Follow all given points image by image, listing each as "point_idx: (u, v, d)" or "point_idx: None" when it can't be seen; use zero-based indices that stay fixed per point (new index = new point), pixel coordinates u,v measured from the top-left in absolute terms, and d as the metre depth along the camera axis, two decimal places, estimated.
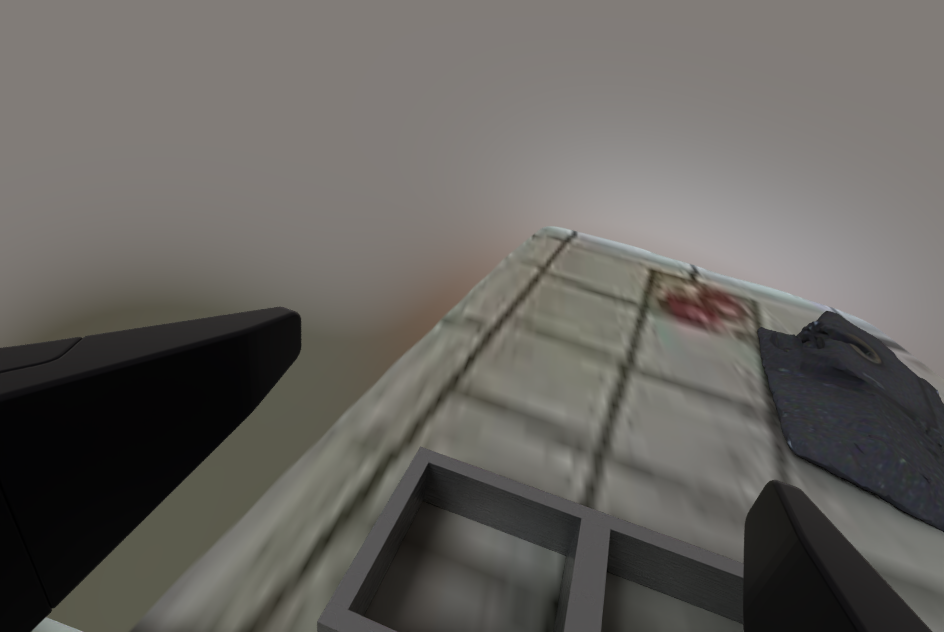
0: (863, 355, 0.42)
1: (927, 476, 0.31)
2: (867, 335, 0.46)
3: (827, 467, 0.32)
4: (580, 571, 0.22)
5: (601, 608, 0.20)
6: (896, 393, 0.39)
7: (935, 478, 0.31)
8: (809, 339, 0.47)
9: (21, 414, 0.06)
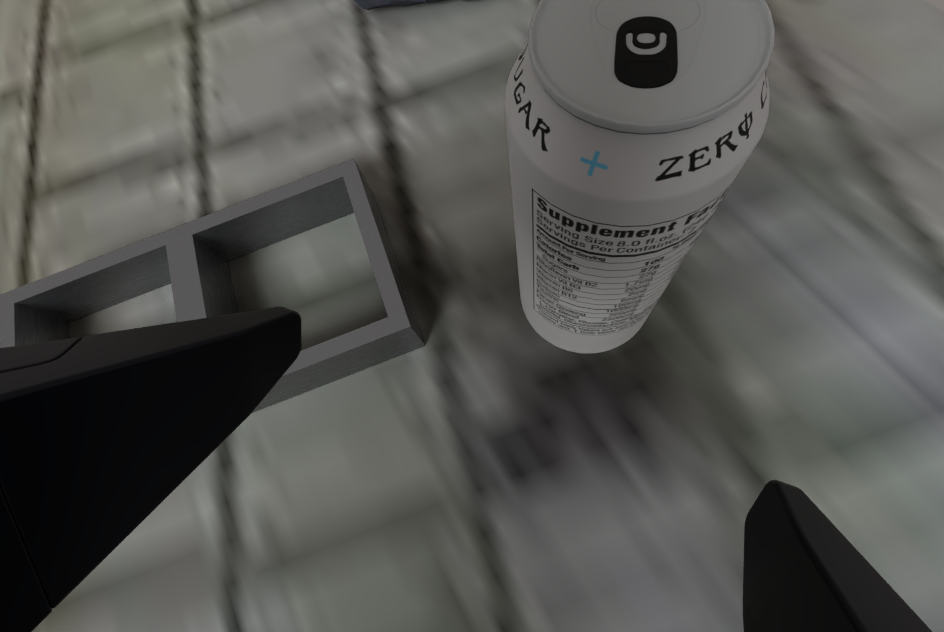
0: None
1: None
2: None
3: (392, 4, 0.31)
4: (178, 290, 0.24)
5: (203, 305, 0.23)
6: None
7: None
8: None
9: (23, 414, 0.06)
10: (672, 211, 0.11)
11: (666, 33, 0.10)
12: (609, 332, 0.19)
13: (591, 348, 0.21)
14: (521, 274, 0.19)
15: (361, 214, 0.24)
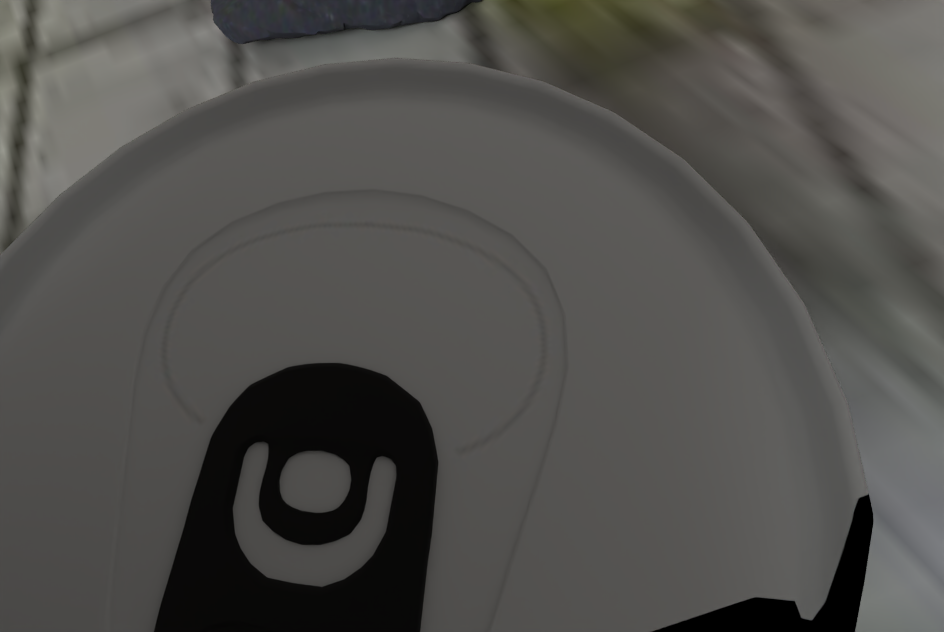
0: None
1: None
2: None
3: (273, 37, 0.23)
4: None
5: None
6: None
7: None
8: None
9: None
10: None
11: (396, 465, 0.02)
12: None
13: None
14: None
15: None
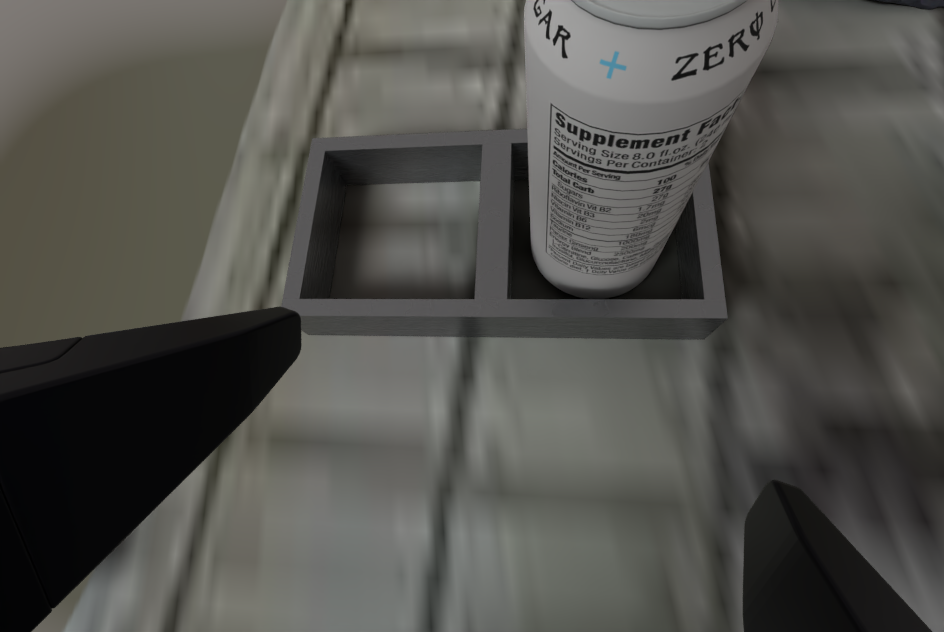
0: None
1: None
2: None
3: None
4: (486, 193, 0.23)
5: (508, 217, 0.22)
6: None
7: None
8: None
9: (23, 414, 0.06)
10: (686, 115, 0.12)
11: None
12: (619, 271, 0.20)
13: (601, 293, 0.22)
14: (534, 215, 0.20)
15: (699, 182, 0.22)
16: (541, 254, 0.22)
